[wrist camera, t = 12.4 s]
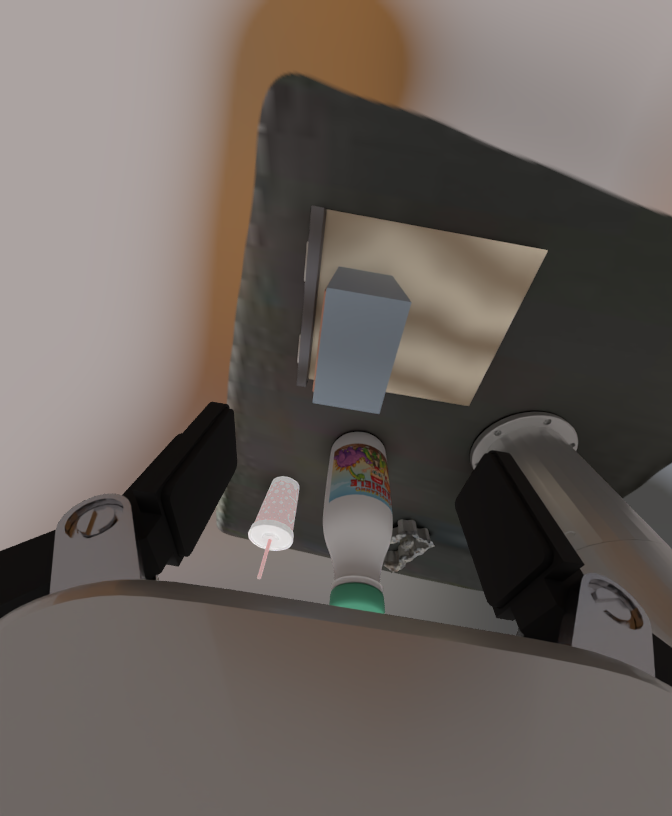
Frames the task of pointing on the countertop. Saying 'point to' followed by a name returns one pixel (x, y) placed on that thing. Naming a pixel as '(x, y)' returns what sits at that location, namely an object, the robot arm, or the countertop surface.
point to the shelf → (422, 297)
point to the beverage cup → (276, 518)
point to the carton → (358, 339)
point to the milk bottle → (357, 520)
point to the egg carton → (407, 544)
